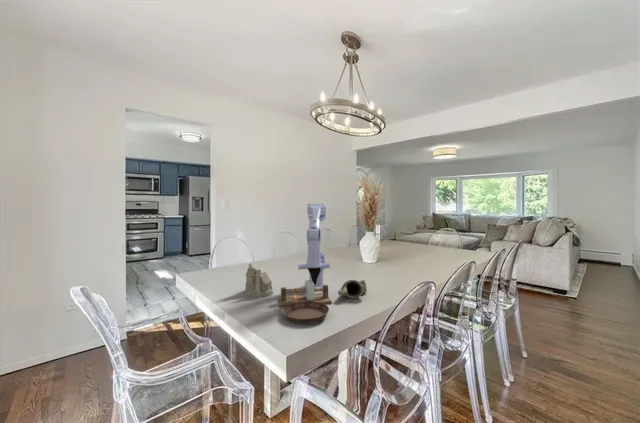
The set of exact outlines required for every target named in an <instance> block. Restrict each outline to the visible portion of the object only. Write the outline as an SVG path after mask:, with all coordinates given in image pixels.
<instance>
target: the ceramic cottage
mask: <svg viewBox="0 0 640 423" xmlns="http://www.w3.org/2000/svg"><path fill="white" fill-rule="evenodd" d="M245 278H246V281H245V289H244V295H245V294H246V295H245V296H248V295H249V297H254V298H259V299H261V298H262V299H264V298H268V297H271V296H272V295H274V290H273V285H272V282H273V281H272V280H271V279H270V276H269V275H268V274H267V273H266V271H263V272H262V269H260V268H258V269H257V268H254V266H253V265H252V263H249V264H248V267H247V271H246V273H245Z"/></svg>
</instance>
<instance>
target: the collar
mask: <svg viewBox="0 0 640 423" xmlns="http://www.w3.org/2000/svg"><path fill="white" fill-rule="evenodd" d="M304 288H307V292H305V293H304V294H305V296H306V298H307V300H314V294H315V292H314V283H313V281H312V280H309V279H306V280H304Z"/></svg>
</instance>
